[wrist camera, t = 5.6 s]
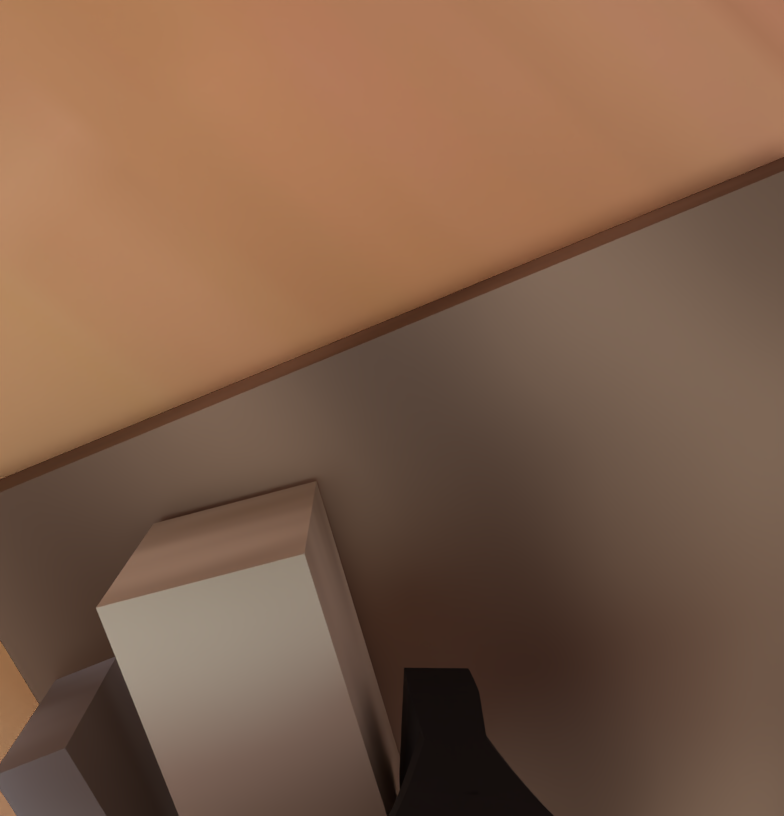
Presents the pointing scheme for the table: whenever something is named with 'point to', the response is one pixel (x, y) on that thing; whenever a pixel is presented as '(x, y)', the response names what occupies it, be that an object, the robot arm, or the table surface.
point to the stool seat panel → (481, 521)
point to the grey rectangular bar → (253, 663)
